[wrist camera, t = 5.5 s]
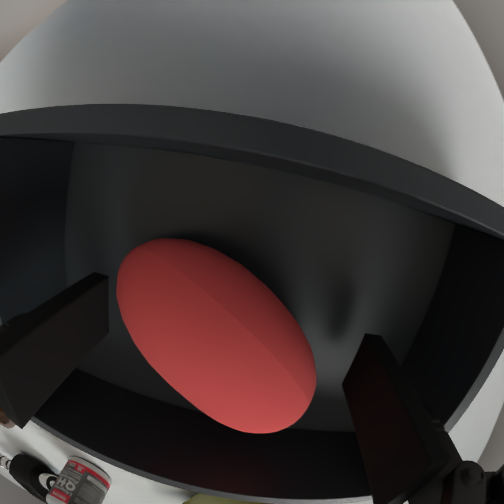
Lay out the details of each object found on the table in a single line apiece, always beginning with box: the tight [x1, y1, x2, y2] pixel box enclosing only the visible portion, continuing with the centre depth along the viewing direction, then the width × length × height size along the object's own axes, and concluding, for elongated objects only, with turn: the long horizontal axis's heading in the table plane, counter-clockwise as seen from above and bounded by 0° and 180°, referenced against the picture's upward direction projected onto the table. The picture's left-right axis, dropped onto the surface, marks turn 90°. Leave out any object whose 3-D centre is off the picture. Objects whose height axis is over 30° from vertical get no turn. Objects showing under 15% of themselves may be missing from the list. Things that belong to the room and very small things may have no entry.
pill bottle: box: [46, 457, 111, 504], centre depth 14 cm, size 5×5×10 cm
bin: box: [0, 104, 504, 504], centre depth 10 cm, size 15×20×6 cm
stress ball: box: [116, 238, 317, 433], centre depth 10 cm, size 5×9×6 cm, turn 28°
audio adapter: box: [0, 453, 58, 504], centre depth 21 cm, size 11×5×25 cm
